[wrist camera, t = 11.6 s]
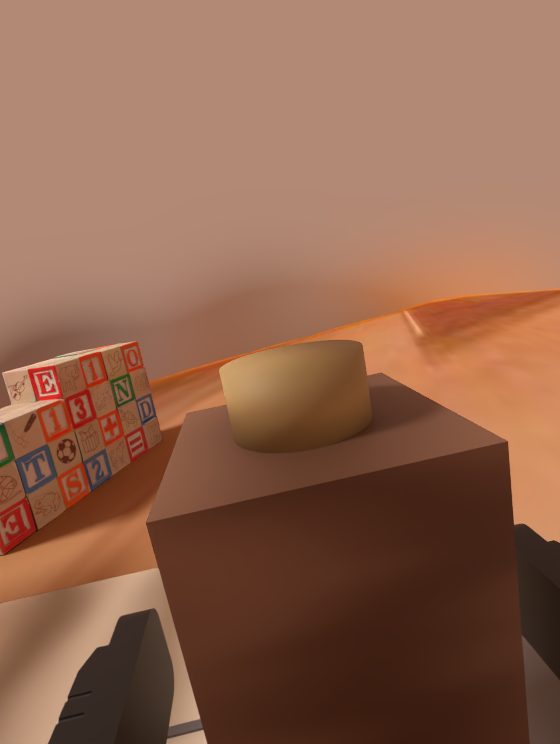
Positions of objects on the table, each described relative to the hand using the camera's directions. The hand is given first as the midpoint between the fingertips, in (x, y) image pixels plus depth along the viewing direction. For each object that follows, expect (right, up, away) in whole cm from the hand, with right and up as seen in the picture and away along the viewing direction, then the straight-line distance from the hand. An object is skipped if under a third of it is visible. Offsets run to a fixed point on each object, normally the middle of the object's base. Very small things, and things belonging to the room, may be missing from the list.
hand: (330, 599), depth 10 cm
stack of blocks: (-21, -6, +31) cm, 38 cm away
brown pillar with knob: (+1, -8, 0) cm, 8 cm away
